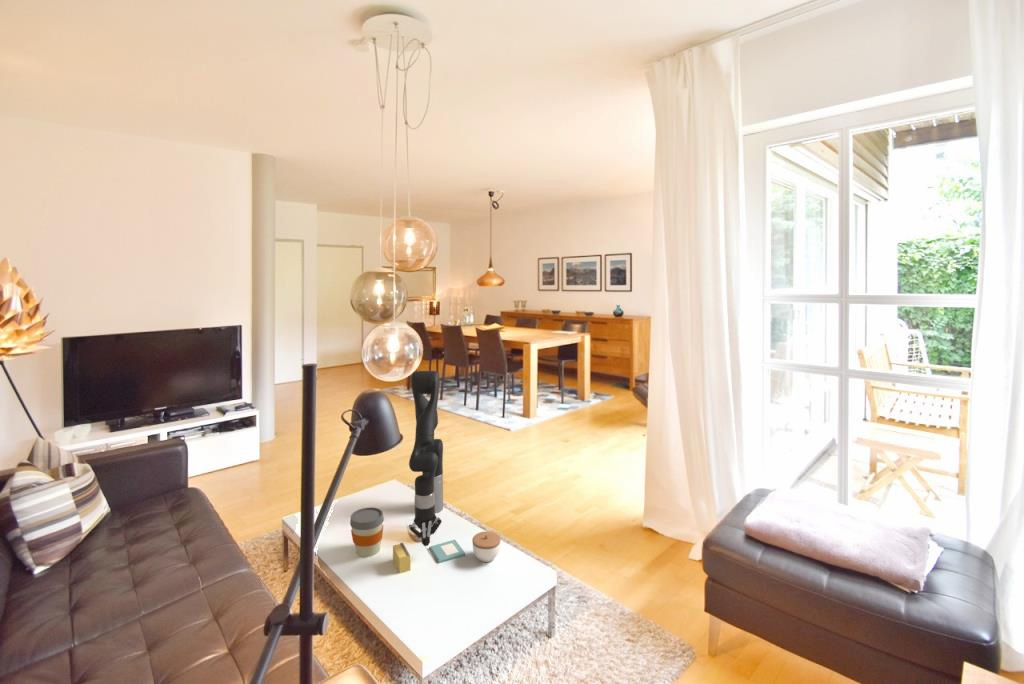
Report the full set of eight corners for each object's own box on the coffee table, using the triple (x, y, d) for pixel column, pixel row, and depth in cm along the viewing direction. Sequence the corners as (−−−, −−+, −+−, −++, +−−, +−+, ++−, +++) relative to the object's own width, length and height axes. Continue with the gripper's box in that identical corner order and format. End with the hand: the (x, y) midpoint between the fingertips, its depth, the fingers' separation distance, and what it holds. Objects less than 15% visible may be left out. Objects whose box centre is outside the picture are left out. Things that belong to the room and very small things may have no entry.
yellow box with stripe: (393, 560, 185) (392, 545, 184) (403, 557, 187) (403, 542, 186) (399, 573, 177) (399, 557, 176) (410, 570, 179) (410, 554, 178)
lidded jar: (500, 549, 193) (500, 527, 191) (500, 565, 182) (500, 542, 181) (473, 549, 193) (473, 527, 191) (471, 566, 182) (471, 542, 181)
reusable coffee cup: (376, 561, 184) (374, 524, 182) (345, 558, 186) (343, 521, 184) (389, 543, 196) (388, 508, 194) (361, 540, 198) (359, 505, 196)
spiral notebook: (429, 548, 193) (429, 546, 193) (454, 541, 198) (454, 539, 198) (438, 563, 183) (438, 560, 183) (465, 555, 189) (465, 552, 188)
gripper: (438, 494, 190) (438, 535, 193) (404, 502, 183) (405, 544, 186) (444, 503, 183) (445, 545, 186) (410, 511, 177) (411, 555, 180)
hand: (425, 544), depth 186 cm, fingers closed
